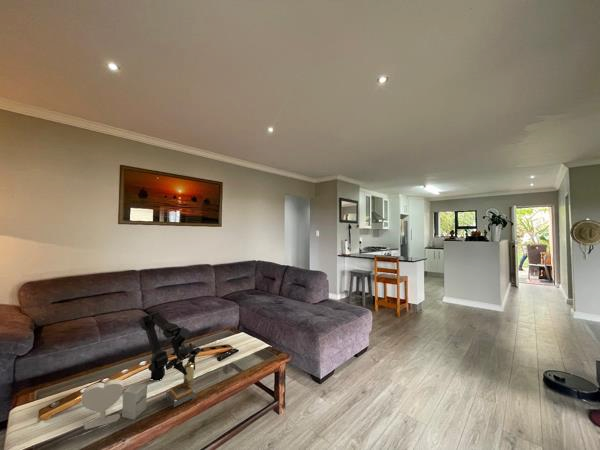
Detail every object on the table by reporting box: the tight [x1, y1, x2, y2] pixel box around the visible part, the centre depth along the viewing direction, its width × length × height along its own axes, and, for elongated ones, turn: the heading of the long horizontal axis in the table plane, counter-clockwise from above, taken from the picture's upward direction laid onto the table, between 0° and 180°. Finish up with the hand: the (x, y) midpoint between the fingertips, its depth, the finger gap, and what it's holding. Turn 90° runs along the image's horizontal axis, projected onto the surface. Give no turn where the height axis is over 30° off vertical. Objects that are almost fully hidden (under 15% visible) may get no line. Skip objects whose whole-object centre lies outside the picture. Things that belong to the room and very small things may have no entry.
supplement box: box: [121, 382, 148, 420], centre depth 124 cm, size 7×7×13 cm
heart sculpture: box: [80, 379, 125, 430], centre depth 118 cm, size 16×5×18 cm, turn 118°
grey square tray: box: [165, 382, 196, 408], centre depth 136 cm, size 11×11×5 cm
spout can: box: [182, 361, 195, 387], centre depth 137 cm, size 6×5×12 cm
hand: (190, 372), depth 137 cm, fingers closed on spout can, 5 cm apart
